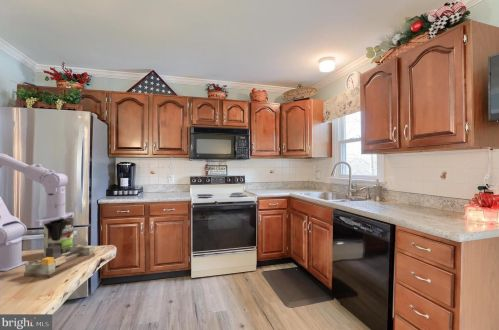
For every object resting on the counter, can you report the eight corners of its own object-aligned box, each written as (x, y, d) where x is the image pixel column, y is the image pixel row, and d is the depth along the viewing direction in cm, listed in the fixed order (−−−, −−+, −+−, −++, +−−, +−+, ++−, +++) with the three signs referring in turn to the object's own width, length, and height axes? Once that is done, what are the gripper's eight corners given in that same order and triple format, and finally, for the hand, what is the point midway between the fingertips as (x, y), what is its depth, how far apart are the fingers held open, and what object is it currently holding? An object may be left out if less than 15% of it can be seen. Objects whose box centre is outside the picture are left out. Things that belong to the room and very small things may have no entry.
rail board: (24, 276, 83) (24, 262, 83) (73, 254, 103) (73, 243, 103) (49, 278, 82) (49, 264, 82) (95, 255, 102) (95, 244, 102)
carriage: (40, 265, 87) (40, 248, 87) (51, 260, 91) (51, 244, 91) (55, 266, 86) (55, 249, 86) (65, 261, 90) (65, 245, 90)
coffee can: (79, 249, 109) (79, 218, 109) (57, 258, 99) (57, 223, 99) (60, 247, 111) (60, 217, 111) (36, 256, 101) (36, 222, 101)
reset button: (42, 265, 82) (42, 259, 82) (47, 262, 84) (47, 256, 84) (48, 265, 82) (48, 259, 82) (53, 263, 84) (53, 257, 84)
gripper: (47, 208, 85) (47, 247, 85) (80, 201, 99) (81, 234, 99) (29, 207, 86) (29, 246, 86) (65, 201, 100) (65, 234, 100)
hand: (56, 240), depth 93 cm, fingers closed
